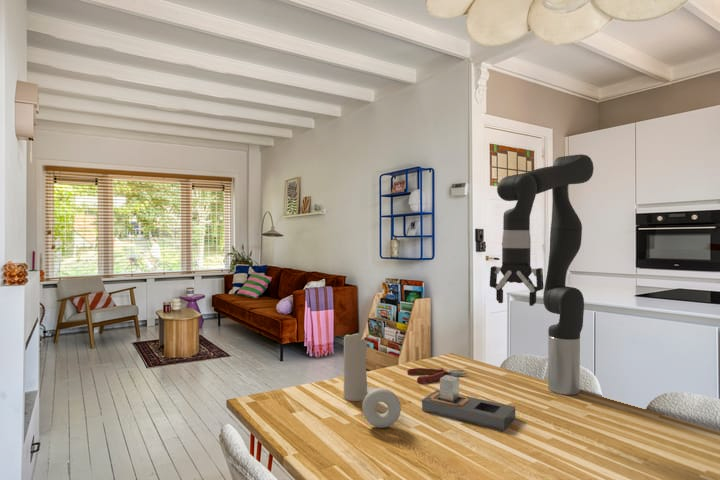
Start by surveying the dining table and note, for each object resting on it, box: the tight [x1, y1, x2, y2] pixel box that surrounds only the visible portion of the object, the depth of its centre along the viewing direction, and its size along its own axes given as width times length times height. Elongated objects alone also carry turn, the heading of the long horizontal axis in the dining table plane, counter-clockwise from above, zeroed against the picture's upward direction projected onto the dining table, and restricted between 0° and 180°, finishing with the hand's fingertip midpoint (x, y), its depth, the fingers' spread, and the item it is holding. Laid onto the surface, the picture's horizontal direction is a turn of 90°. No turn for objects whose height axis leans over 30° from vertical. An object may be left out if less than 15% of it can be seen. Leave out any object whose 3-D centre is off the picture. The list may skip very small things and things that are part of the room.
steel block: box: [439, 375, 460, 404], centre depth 127 cm, size 4×4×9 cm
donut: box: [361, 387, 402, 429], centre depth 115 cm, size 10×4×10 cm, turn 86°
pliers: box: [406, 367, 468, 384], centre depth 157 cm, size 12×20×3 cm, turn 104°
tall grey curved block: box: [343, 333, 378, 402], centre depth 139 cm, size 7×14×20 cm, turn 148°
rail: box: [421, 389, 516, 432], centre depth 124 cm, size 10×23×3 cm, turn 55°
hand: (515, 304), depth 126 cm, fingers open, 8 cm apart
